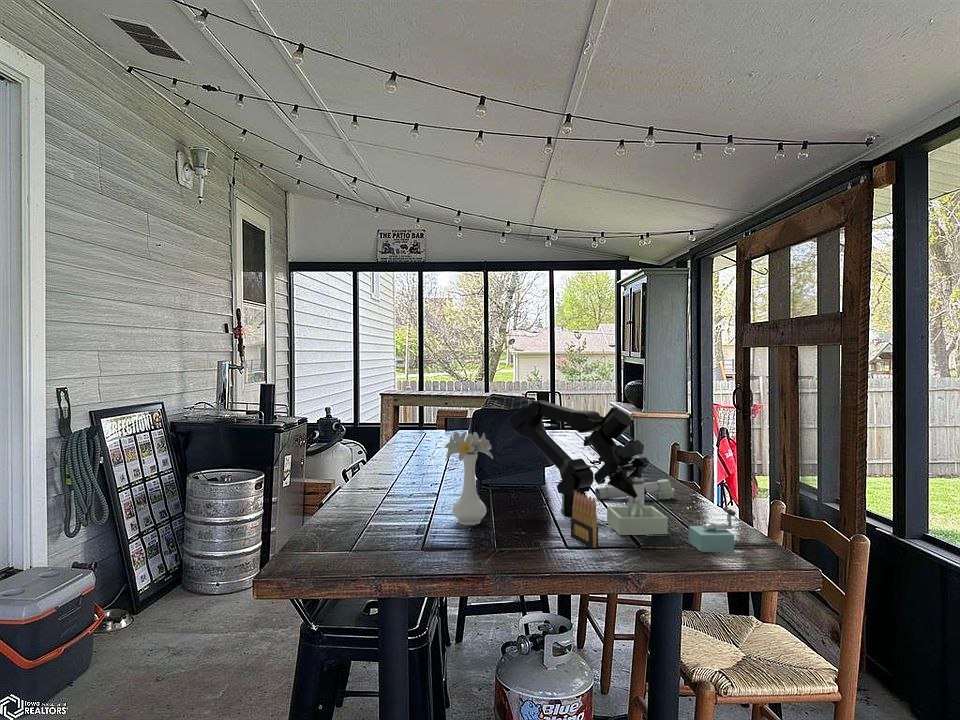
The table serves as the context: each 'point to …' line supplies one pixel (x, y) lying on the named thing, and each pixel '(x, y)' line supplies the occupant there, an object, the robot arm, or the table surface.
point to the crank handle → (721, 526)
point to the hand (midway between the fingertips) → (640, 495)
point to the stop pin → (637, 498)
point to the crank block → (711, 539)
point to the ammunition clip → (584, 520)
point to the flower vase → (468, 476)
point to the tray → (637, 521)
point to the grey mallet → (659, 488)
